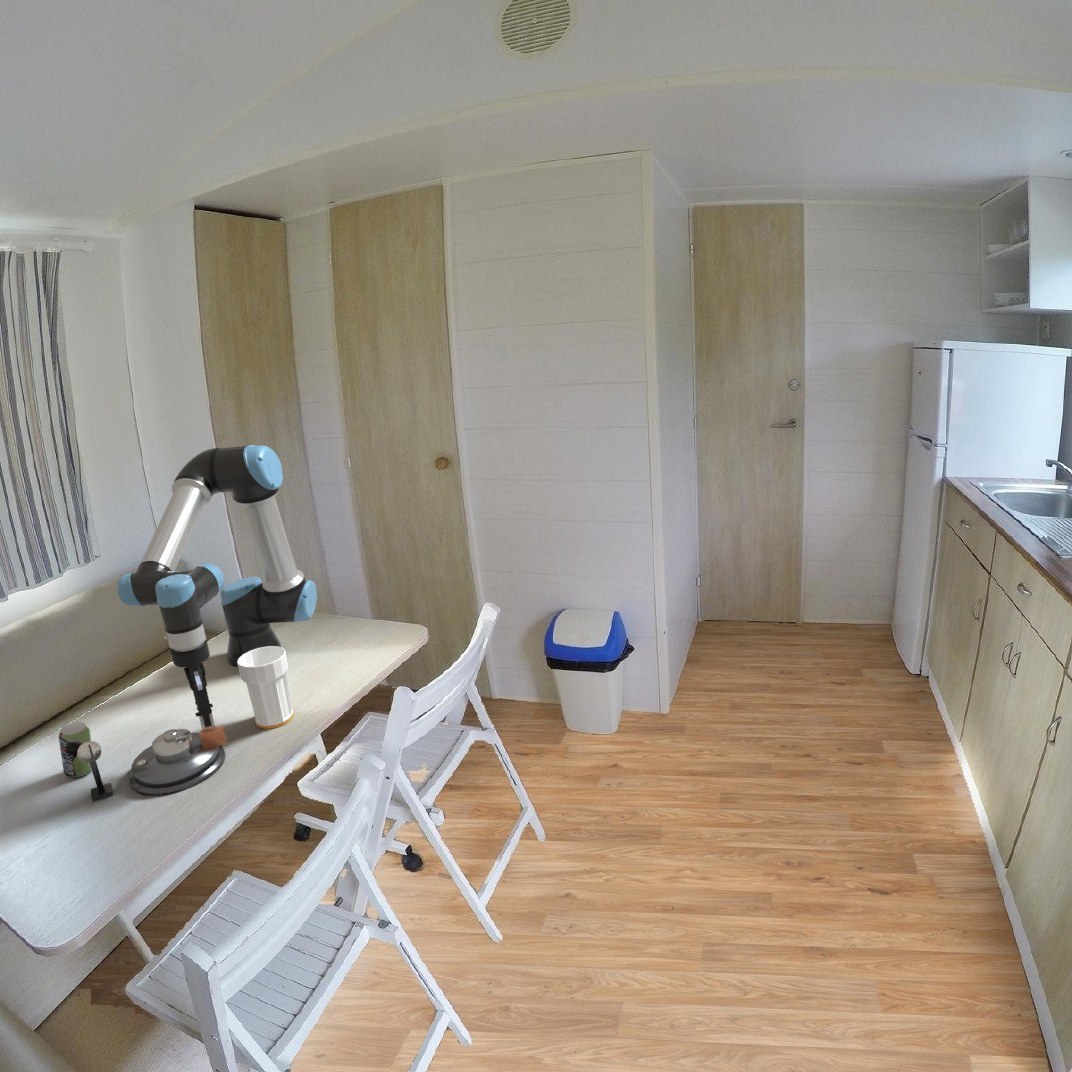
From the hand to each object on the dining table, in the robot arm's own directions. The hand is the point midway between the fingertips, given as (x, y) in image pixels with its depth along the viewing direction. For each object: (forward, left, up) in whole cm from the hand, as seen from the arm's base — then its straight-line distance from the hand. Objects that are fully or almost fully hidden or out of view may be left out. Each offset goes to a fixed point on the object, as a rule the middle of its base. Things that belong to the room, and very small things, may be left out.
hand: (210, 736), depth 176 cm
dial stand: (0, -23, -5) cm, 24 cm away
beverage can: (-13, -27, -5) cm, 30 cm away
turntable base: (0, -8, -5) cm, 9 cm away
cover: (0, -8, -2) cm, 8 cm away
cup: (-8, +15, -5) cm, 18 cm away
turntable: (0, -7, -4) cm, 8 cm away
